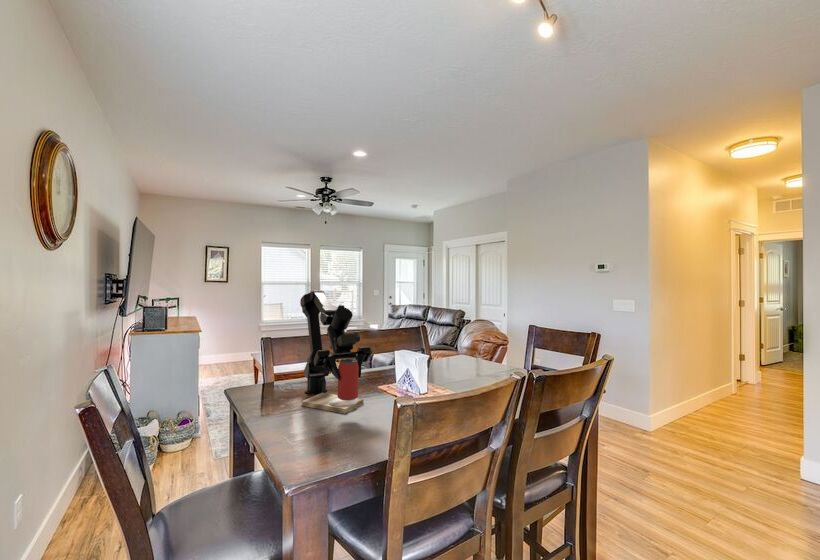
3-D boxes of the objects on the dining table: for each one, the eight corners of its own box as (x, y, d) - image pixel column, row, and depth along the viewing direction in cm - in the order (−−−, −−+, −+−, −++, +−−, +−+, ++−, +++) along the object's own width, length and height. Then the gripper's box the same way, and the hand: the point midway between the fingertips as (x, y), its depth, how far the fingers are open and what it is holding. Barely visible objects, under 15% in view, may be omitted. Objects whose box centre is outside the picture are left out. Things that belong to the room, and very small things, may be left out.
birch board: (301, 405, 138) (301, 400, 138) (322, 396, 149) (322, 392, 149) (346, 413, 130) (346, 408, 130) (364, 403, 141) (364, 398, 141)
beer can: (360, 395, 129) (360, 359, 129) (355, 401, 123) (356, 363, 123) (340, 394, 130) (341, 358, 130) (334, 400, 123) (335, 362, 123)
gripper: (317, 325, 125) (328, 367, 115) (370, 323, 134) (384, 361, 125) (309, 346, 132) (319, 387, 122) (360, 342, 141) (373, 380, 132)
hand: (349, 378), depth 125 cm, fingers closed on beer can, 7 cm apart
